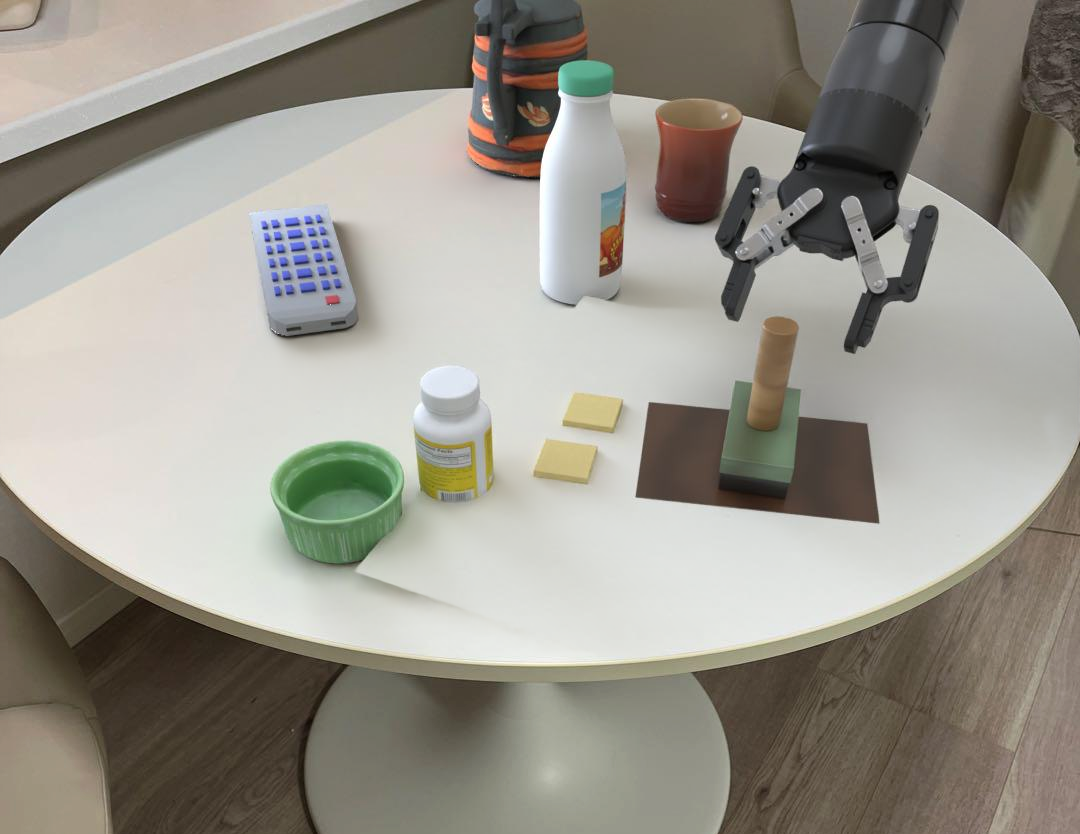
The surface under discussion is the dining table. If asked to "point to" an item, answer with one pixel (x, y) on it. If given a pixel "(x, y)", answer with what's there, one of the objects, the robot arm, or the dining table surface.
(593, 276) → the milk bottle
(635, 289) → the dining table surface
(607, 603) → the dining table surface
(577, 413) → the crumb
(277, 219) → the remote control
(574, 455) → the crumb
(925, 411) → the dining table surface
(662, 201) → the mug
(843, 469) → the tray
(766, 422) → the brush
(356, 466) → the ramekin
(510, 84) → the beer stein
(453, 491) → the supplement bottle
